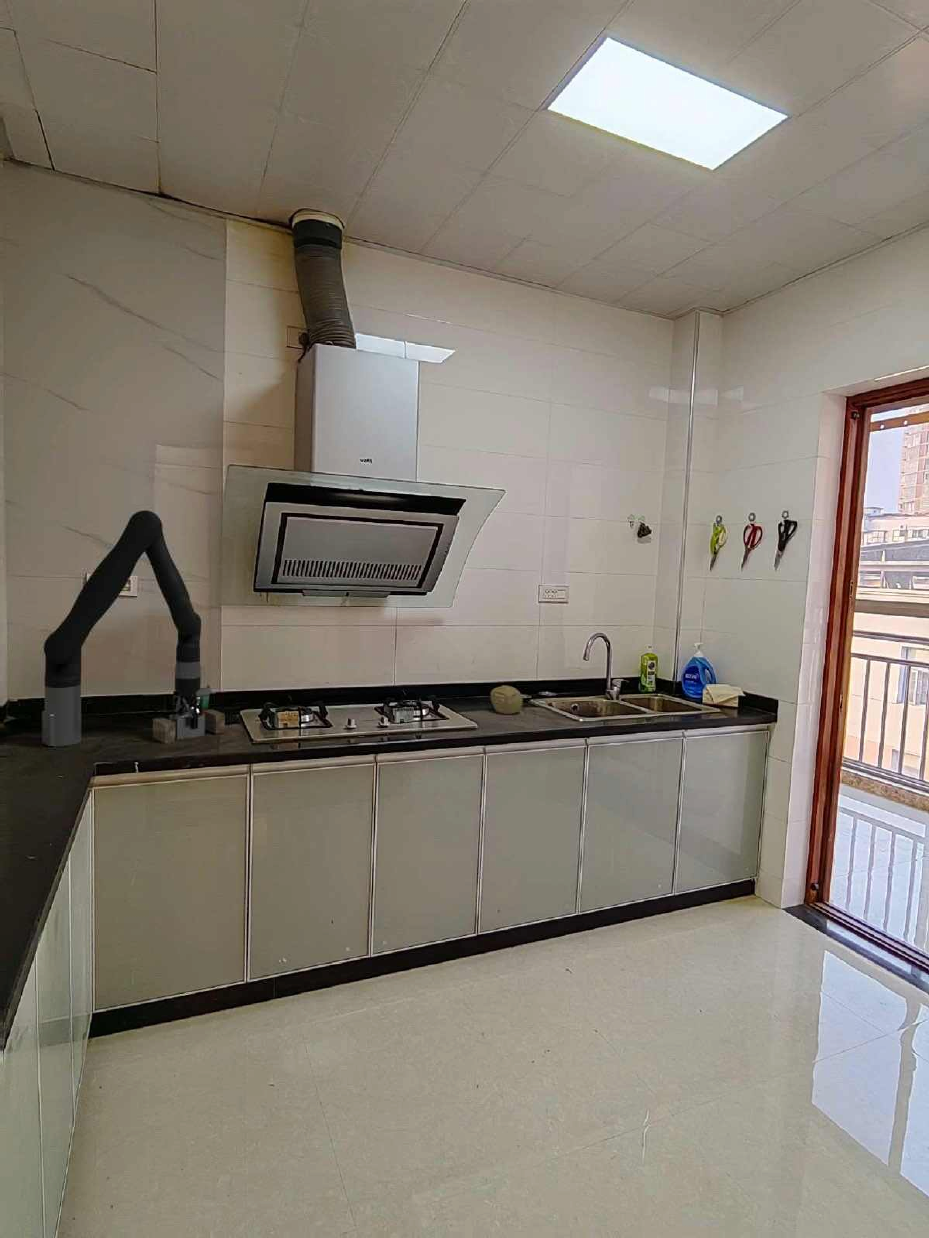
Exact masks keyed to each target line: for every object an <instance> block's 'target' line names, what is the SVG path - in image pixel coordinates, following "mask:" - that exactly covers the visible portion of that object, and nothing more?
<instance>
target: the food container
mask: <svg viewBox="0 0 929 1238" xmlns="http://www.w3.org/2000/svg"><path fill="white" fill-rule="evenodd" d="M210 694H212V688H211V686H210V685H208V684H207V685H206V687H201V688H200V690H199V691H197V692H196V695H197V697H202V700H203V711H205V710H209V701H210ZM198 711H199V709H198ZM183 712H184V713H187V712H188V711H187V709H186V708H185V710H184V711H183Z"/></svg>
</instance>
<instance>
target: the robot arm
mask: <svg viewBox="0 0 929 1238" xmlns="http://www.w3.org/2000/svg"><path fill="white" fill-rule="evenodd" d="M163 528H164V527H163V522H162V519H161V518H160V517H159V516H158V515H157V514H156V513H155V512H154V511H151V510H140V511H137V512H135V513H134V514H132V515H131V516H130V518H129V520H128V522H127V525H126V526H125V528H124V530H123V532H122V534H121V535H120V537H119V539H118V541H117V542H116V543H115V545H114V546H113V548H111V550H110V551H109V552H108V554H107V555H106V556H105V557H104V558H103V559H102V561H101V562H100V563H99V564H98V565H97V566H96V568H95V569H94V571H93V572H92V574H91V575H90V576H89V577H88V578H87V580H86V582H85V583H84V585H83V587H82V588H81V590H80V592H79V593H78V596H77V597H76V599H75V601H74V603H73V605H72V607H71V609H70V611H69V613H68V615H67V616H66V617H65V618H64V619H63V620H62V622H61V623H60V625H58V627H57V628H56V629H55V630H54V631H53V632H52V633H51V634H49V635H48V637H47V638H46V639H45V641H44V643H43V653H44V655H45V659H44V661H45V665H44V666H45V669H44V670H45V672H44V710H42V713H41V716H42V717H41V718H42V719H41V723H42V724H41V728H42V729H41V731H42V735H41V738H42V741H41V742H42V744H44V743H45V744H46V746H47V745H48V746H47V747H49V746H53V747H66V746H67V747H69V746H72V745H77V744H80V743H81V741H82V648H83V645H84V644H85V642H86V640H87V638H88V636H89V634H90V632H91V631H92V630H93V628H94V627H95V625H96V624H98V622H99V620H101V618H102V617H104V615H105V614H106V613H107V612H108V610H110V608H111V607H112V605H113V604H114V603H115V602H116V600H118V597H119V596H120V595H121V593H122V591H123V590H124V589H125V587H126V585H127V583H128V582H129V580H130V578H131V576H132V574H133V573H134V570H135V567H136V565H137V563H138V561H139V559H140V558H141V557H142V555H143V554H144V553H145V555H146V557H147V559H148V561H149V564H150V566H151V568H152V570H153V574H154V577H155V579H156V581H157V585H158V588H159V590H160V592H161V594H162V597H163V598H164V601H165V603H166V605H167V607H168V609H169V612H170V616H171V619H172V621H173V624H174V627H175V628H176V631H177V643H176V648H175V666H174V691H173V693H172V709H173V710H175V712H176V714H181V713H184V712H183V711H184V710H185V708H186V709H187V711H188V712H189V713H190V716H191V718H190V729H192V730H193V729H197V728H198V717H199V716H202V715H203V700H202V697H197V695H196V692H197V691H199V690H200V688H202V687H201V684H202V683H201V682H202V681H201V680H202V679H201V678H202V677H201V676H202V666H201V636H202V635H201V634H202V619H201V617H200V615H199V614H198V613H197V612H195V611H196V610H195V609H194V606H193V605H192V602H191V598H190V594H189V591H188V589H187V587H186V584H185V582H184V580H183V578H182V576H181V573H180V571H179V569H178V568H177V566H176V564H175V562H174V560H173V559H172V556H171V554H170V550H168V546H167V543H166V540H165V535H164V531H163V530H164V529H163ZM198 709H199V711H198ZM45 744H44V745H45Z"/></svg>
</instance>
